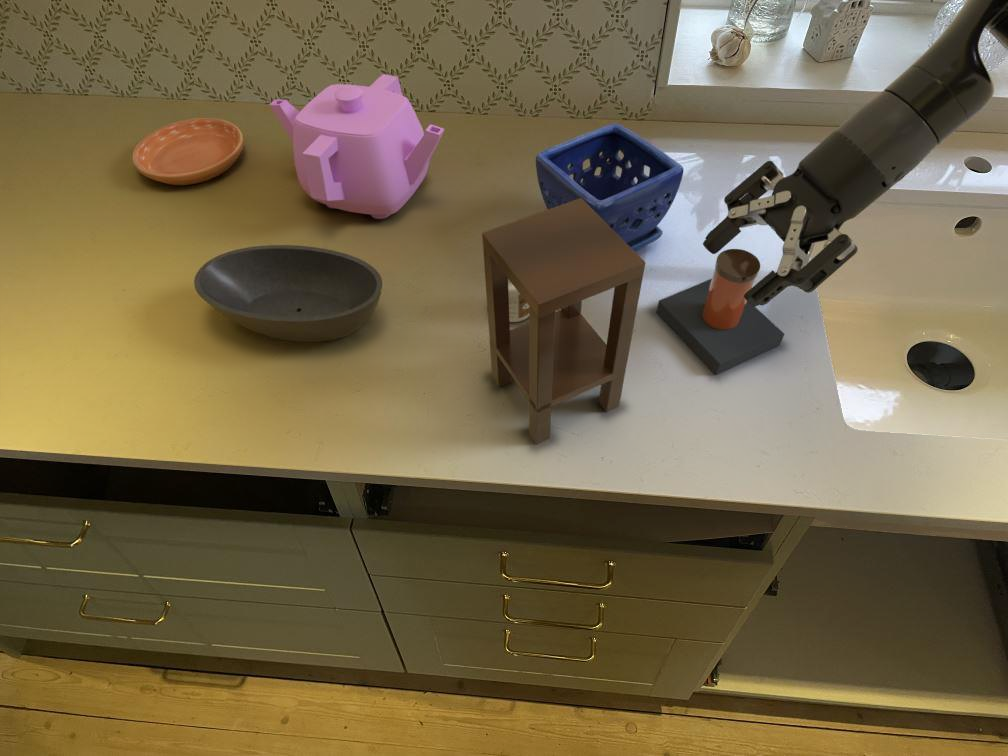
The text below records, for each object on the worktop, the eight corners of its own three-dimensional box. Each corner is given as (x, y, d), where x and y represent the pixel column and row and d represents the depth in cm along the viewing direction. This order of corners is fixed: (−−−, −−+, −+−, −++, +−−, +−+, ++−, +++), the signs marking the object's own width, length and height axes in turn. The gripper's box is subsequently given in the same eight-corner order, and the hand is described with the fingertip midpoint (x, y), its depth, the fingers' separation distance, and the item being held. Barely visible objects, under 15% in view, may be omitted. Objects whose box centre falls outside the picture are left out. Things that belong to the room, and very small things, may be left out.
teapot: (455, 209, 90) (444, 106, 79) (330, 250, 86) (298, 147, 74) (406, 143, 101) (389, 44, 90) (292, 176, 97) (258, 76, 85)
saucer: (210, 123, 107) (203, 105, 105) (269, 157, 100) (262, 139, 98) (121, 167, 100) (111, 149, 97) (177, 207, 93) (168, 189, 90)
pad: (779, 345, 73) (785, 333, 71) (715, 375, 71) (719, 364, 69) (716, 286, 79) (720, 274, 78) (655, 312, 77) (658, 300, 75)
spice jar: (749, 322, 73) (769, 268, 66) (717, 336, 72) (735, 282, 65) (723, 297, 75) (741, 243, 69) (692, 311, 74) (707, 257, 68)
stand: (619, 407, 68) (645, 262, 53) (536, 445, 66) (538, 304, 50) (570, 344, 74) (581, 197, 58) (492, 377, 71) (481, 232, 56)
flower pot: (530, 231, 87) (530, 151, 78) (608, 196, 91) (617, 117, 82) (590, 288, 80) (598, 207, 70) (672, 247, 84) (690, 167, 75)
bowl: (239, 275, 83) (221, 237, 78) (404, 294, 80) (396, 255, 75) (194, 345, 76) (171, 308, 71) (374, 369, 73) (363, 331, 68)
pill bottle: (529, 325, 76) (529, 276, 70) (492, 321, 77) (489, 272, 71) (535, 299, 79) (535, 249, 73) (499, 295, 79) (497, 246, 73)
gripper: (806, 98, 63) (677, 219, 70) (905, 179, 54) (747, 308, 61) (833, 137, 68) (711, 247, 75) (928, 218, 59) (779, 333, 66)
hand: (727, 274), depth 68 cm, fingers open, 8 cm apart
